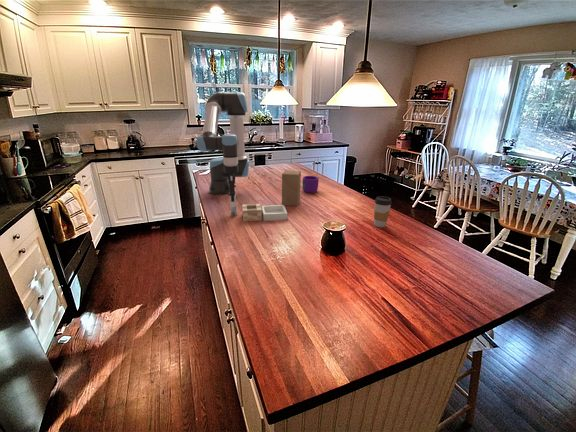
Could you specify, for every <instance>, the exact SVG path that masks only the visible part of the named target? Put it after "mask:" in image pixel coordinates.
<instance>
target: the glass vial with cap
mask: <svg viewBox="0 0 576 432" xmlns="http://www.w3.org/2000/svg"><path fill="white" fill-rule="evenodd" d="M229 194H230V192H229V193H228V195H229ZM236 194H237V193H236V190H235V203H236V204H237V195H236ZM229 208H230V209H229V211H230V216H231V217H233V216H234V217H236V216H238V209H237V206H236V207H231V206H230V205H229Z"/></svg>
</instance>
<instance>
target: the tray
mask: <svg viewBox="0 0 576 432" xmlns="http://www.w3.org/2000/svg"><path fill="white" fill-rule="evenodd" d="M261 210H262V220H263V222H269V221H270V222H273V221H275V222H276V221H287V220H288V211H287V209H286V206H285V205H282V204H278V205H277V204H276V205H275V204H273V205H261Z"/></svg>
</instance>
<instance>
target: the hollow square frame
mask: <svg viewBox="0 0 576 432" xmlns="http://www.w3.org/2000/svg"><path fill="white" fill-rule="evenodd" d="M241 206H242V207H241V208H242V221H243V222H249V221H250V222H251V221H252V220H254V221H255V222H256V221H262V220H263V216H262V205H261V203H243V204H242V205H241ZM252 222H253V221H252Z"/></svg>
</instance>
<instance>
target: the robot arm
mask: <svg viewBox="0 0 576 432" xmlns="http://www.w3.org/2000/svg"><path fill="white" fill-rule="evenodd" d="M204 110H205V117H204V123H203V129H202V133H201V135H198V136H197V137H196V147H197V149H198V150H200V151H222V157H216V158H213V159H211V160H210V161H209V173H210V183H209V184H210V185H209V193H210V194H211V195H227V194H228V197H229V207H230V206H231V207H236V208H237V202H236V203H235V191H236V188H237V186H236V178H246V177H248V176H249V171H250V159H248V156H246V154H245V151H246V150H245V147H246V146H245V128H244V126H245V124H244V118H245V117H246V114H247V112H248V111H249V109H248V103H247V97H246V95H245V93H244V92H241V91H240V92H239V91H217V92H215V93H213V94H212V95H211V96H210V97H209V98H208V99H207V100H206V103H205V107H204ZM221 113H226V116H227V117H229V125H230V126H229V127H230V128H229V129H230V131H229V132H230V133H225V134H222V135H217V133H218V126H219V118H220V115H221ZM229 192H230V194H229Z"/></svg>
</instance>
